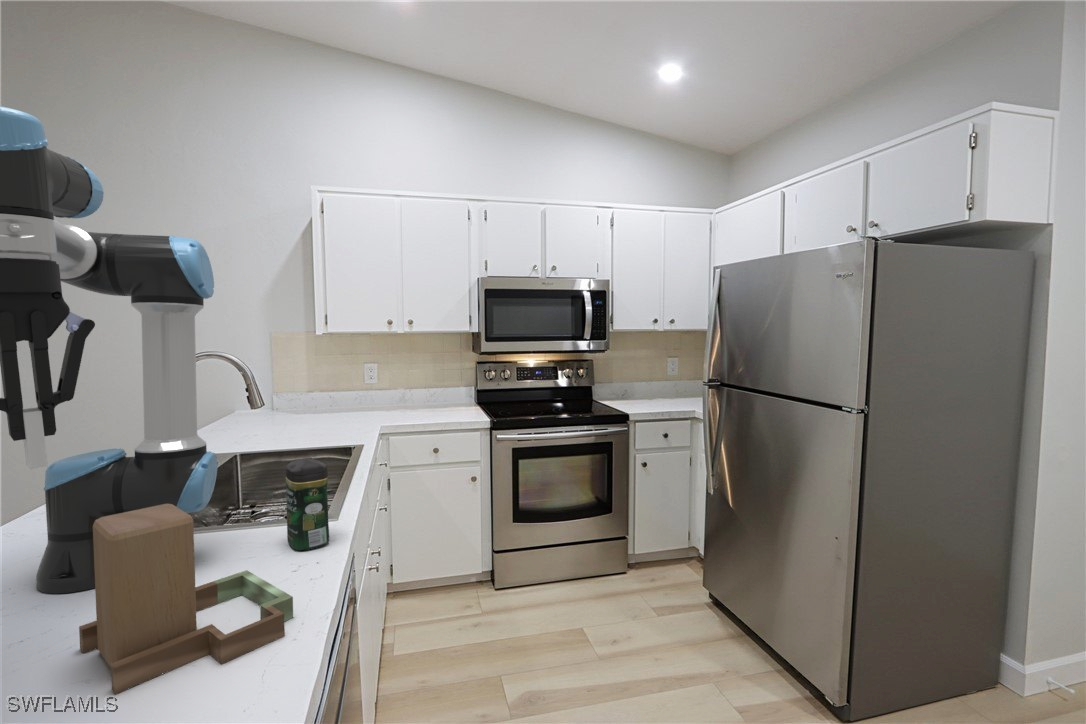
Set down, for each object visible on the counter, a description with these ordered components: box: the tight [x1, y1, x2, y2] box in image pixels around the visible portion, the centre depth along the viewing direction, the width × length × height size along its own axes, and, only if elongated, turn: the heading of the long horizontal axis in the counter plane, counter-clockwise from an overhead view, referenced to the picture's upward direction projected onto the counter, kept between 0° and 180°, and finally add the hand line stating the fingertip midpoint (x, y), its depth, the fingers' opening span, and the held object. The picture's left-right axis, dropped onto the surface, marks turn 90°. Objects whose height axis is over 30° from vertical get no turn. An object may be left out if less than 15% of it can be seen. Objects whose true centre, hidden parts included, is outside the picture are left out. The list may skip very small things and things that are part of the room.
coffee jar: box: [285, 457, 330, 551], centre depth 118 cm, size 10×8×19 cm
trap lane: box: [78, 569, 294, 695], centre depth 83 cm, size 24×24×4 cm
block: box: [93, 504, 198, 669], centre depth 78 cm, size 10×10×20 cm
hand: (37, 465), depth 62 cm, fingers closed
